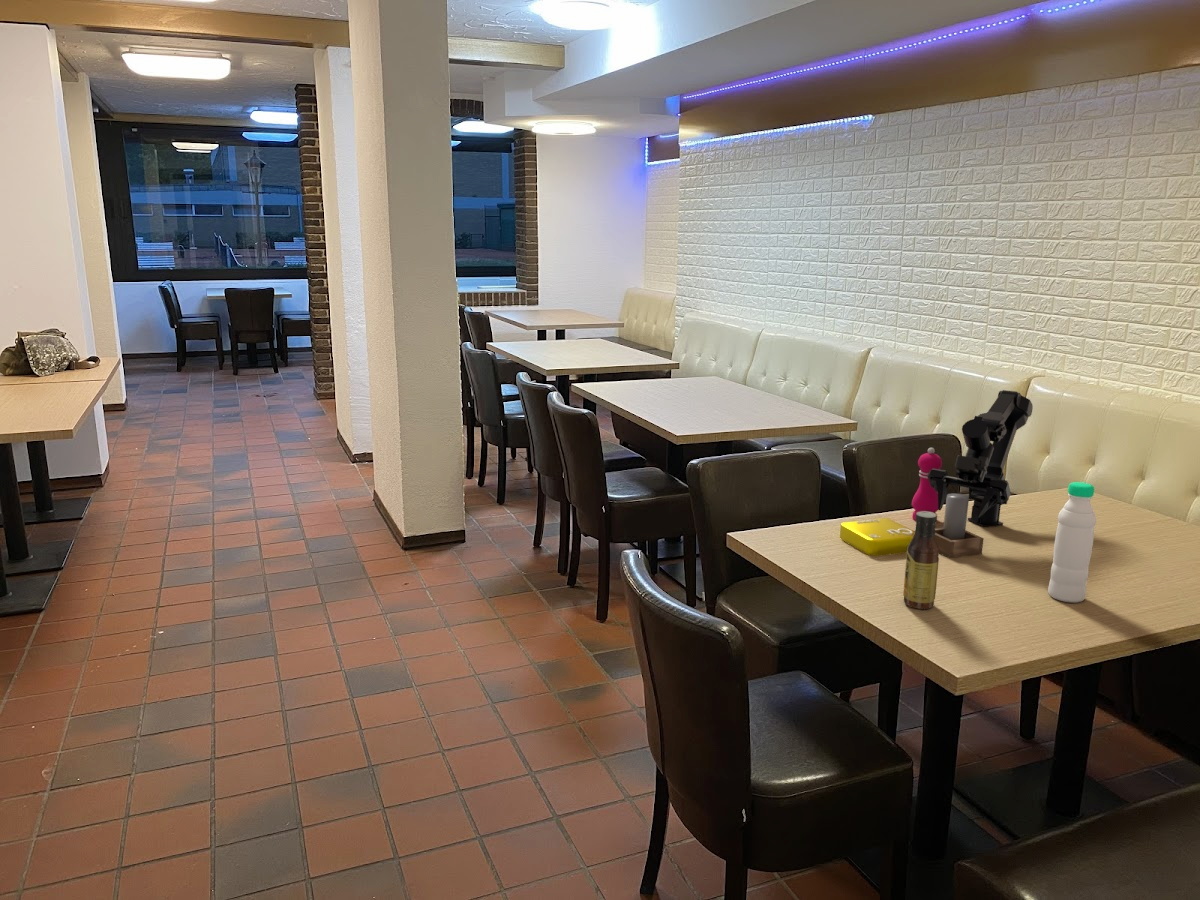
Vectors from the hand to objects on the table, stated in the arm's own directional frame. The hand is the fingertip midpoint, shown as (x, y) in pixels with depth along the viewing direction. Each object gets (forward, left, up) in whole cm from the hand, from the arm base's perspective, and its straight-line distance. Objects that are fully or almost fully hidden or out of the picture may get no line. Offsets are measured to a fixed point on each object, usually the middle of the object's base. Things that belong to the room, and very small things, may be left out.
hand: (958, 513), depth 219 cm
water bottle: (-1, +33, -9) cm, 34 cm away
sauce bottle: (+32, +27, -9) cm, 43 cm away
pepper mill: (-7, -21, -9) cm, 24 cm away
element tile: (+16, -8, -9) cm, 20 cm away
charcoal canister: (+2, +1, -8) cm, 8 cm away
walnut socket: (+2, +1, -9) cm, 9 cm away
